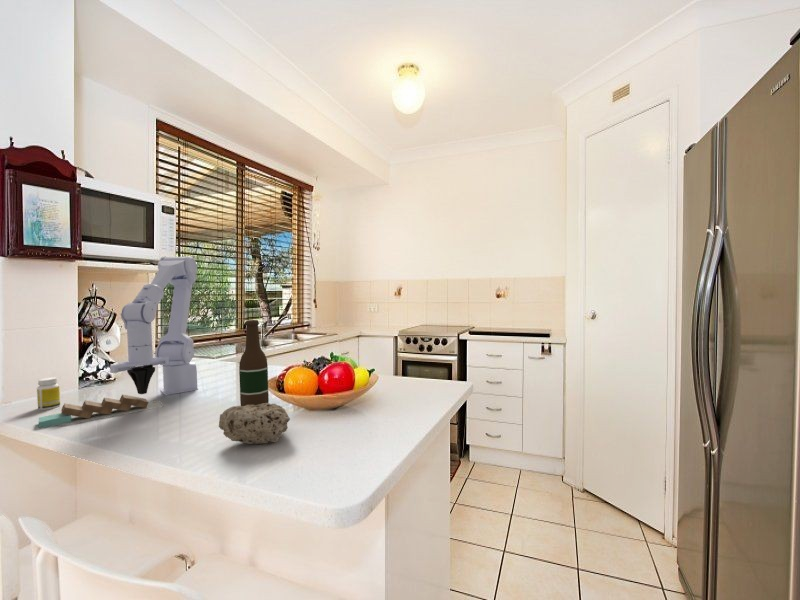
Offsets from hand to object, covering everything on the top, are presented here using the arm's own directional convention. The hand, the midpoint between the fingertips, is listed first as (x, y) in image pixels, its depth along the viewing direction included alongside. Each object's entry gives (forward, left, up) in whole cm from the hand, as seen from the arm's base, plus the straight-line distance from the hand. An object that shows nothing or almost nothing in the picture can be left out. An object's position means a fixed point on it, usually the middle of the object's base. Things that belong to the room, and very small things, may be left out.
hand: (142, 393), depth 111 cm
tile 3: (+7, 0, -3) cm, 8 cm away
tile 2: (+3, 0, -3) cm, 4 cm away
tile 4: (+11, 0, -3) cm, 12 cm away
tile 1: (-1, 0, -3) cm, 3 cm away
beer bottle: (-23, +23, -4) cm, 33 cm away
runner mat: (+6, 0, -4) cm, 8 cm away
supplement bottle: (+20, -19, -4) cm, 28 cm away
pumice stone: (-14, +47, -4) cm, 49 cm away
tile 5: (+15, 0, -3) cm, 16 cm away
